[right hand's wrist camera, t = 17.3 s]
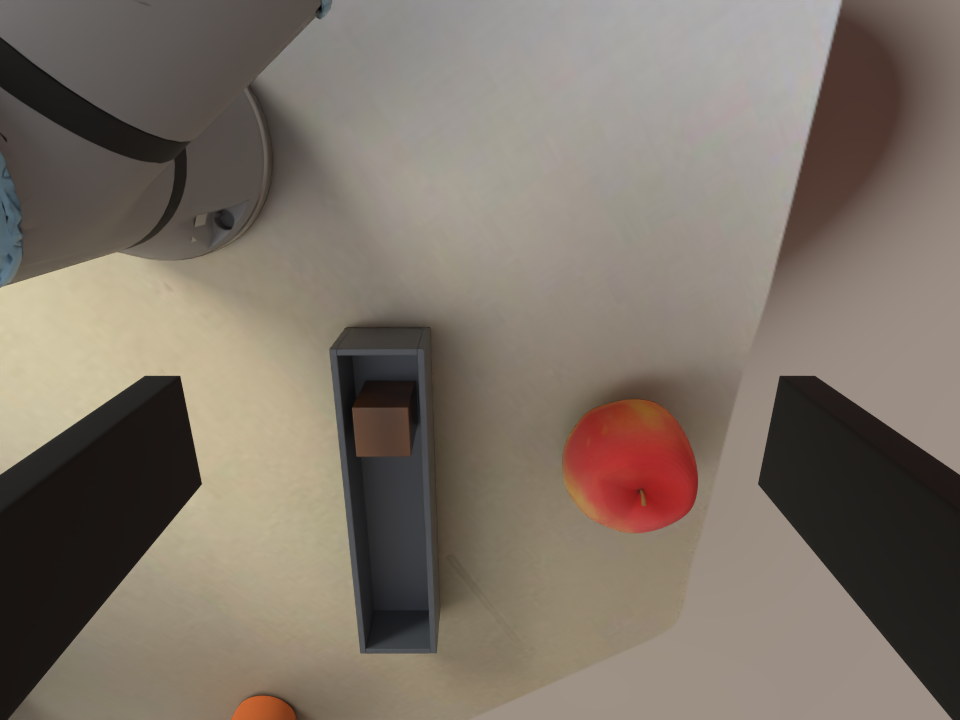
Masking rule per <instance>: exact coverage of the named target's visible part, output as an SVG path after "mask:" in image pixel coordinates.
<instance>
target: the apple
mask: <svg viewBox="0 0 960 720" xmlns="http://www.w3.org/2000/svg"><path fill="white" fill-rule="evenodd" d="M563 477H564V482H565V485H566V488H567V491H568V493H569V495H570V496H571V498H572V499H573V501H574V502H575V504H576V505H577V506H578V508H579V509H580V510H581V511H582V512H583V513H584V514H585V515H587V516H588V517H589V518H591V519H592V520H594V521H595V522H597V523H599V524H601V525H604V526H606V527H609V528H611V529H614V530H618V531H621V532H626V533H644V532H650V531H654V530H657V529H660V528H663V527H666V526H668V525H670V524H672V523H674V522H676V521H678V520H679V519H681V518H682V517H684V516H685V515H686V514H687V513H688V512H689V511H690V510H691V508H692V507H693V505H694V502H695V499H696V495H697V488H698V473H697V466H696V461H695V457H694V454H693V451H692V448H691V446H690V443H689V441H688V439H687V437H686V435H685V433H684V431H683V429H682V428H681V426H680V425H679V423H678V422H677V421H676V419H675V418H674V417H673V416H672V415H671V414H670V413H669V412H668V411H667V410H666V409H665V408H664V407H662V406H661V405H659V404H657V403H655V402H652V401H648V400H641V399H628V400H621V401H616V402H612V403H608V404H605V405H601V406H599V407H596V408H594V409H592V410H590V411H589V412H587V413H586V414H585V415H584V416H583V417H582V418H581V419H580V421H579V422H578V423H577V425H576V426H575V427H574V429H573V430H572V432H571V433H570V435H569V437H568V439H567V441H566V444H565V447H564V451H563Z"/></svg>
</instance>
